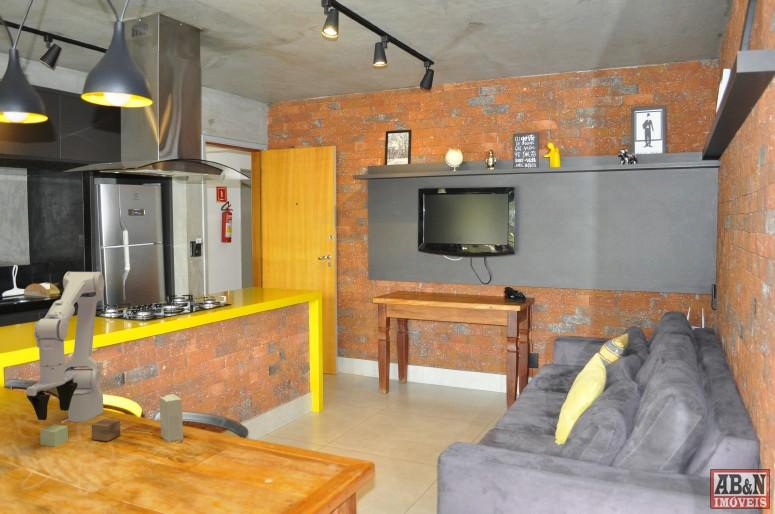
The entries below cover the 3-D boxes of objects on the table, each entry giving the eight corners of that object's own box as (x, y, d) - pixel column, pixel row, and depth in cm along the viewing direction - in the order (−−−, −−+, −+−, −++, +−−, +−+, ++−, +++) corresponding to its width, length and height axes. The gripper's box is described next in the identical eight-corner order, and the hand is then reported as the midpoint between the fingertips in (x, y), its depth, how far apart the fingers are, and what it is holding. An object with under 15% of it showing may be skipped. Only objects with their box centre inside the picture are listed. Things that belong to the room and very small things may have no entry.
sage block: (54, 442, 164) (53, 424, 163) (68, 444, 163) (67, 426, 162) (40, 448, 159) (40, 430, 159) (55, 450, 158) (54, 432, 158)
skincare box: (184, 442, 165) (183, 398, 164) (167, 446, 162) (166, 401, 161) (175, 435, 170) (175, 393, 169) (159, 439, 167) (158, 395, 166)
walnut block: (104, 433, 167) (104, 418, 167) (120, 434, 166) (120, 420, 166) (91, 439, 163) (91, 424, 162) (107, 441, 161) (107, 426, 161)
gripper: (60, 356, 167) (61, 404, 168) (16, 369, 153) (18, 422, 154) (82, 358, 165) (83, 407, 166) (39, 371, 151) (41, 425, 152)
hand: (53, 414), depth 160 cm, fingers open, 7 cm apart
